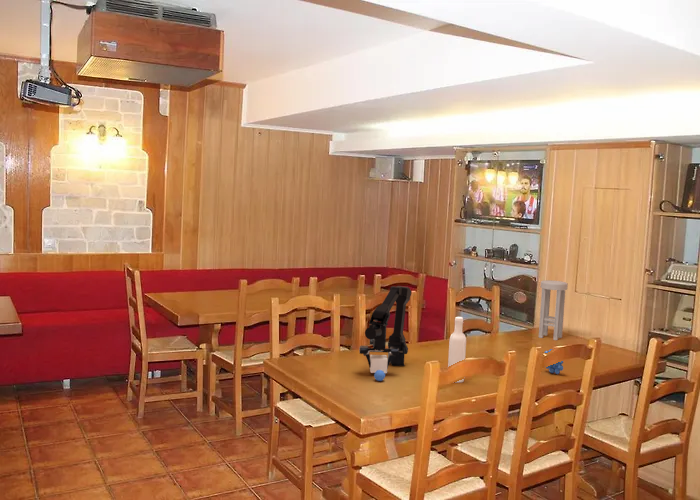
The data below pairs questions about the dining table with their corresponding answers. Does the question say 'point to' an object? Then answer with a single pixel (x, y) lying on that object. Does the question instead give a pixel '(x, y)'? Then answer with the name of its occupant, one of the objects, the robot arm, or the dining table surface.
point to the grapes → (555, 366)
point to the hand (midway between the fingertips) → (378, 368)
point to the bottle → (457, 344)
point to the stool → (559, 311)
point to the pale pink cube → (378, 363)
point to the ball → (379, 375)
